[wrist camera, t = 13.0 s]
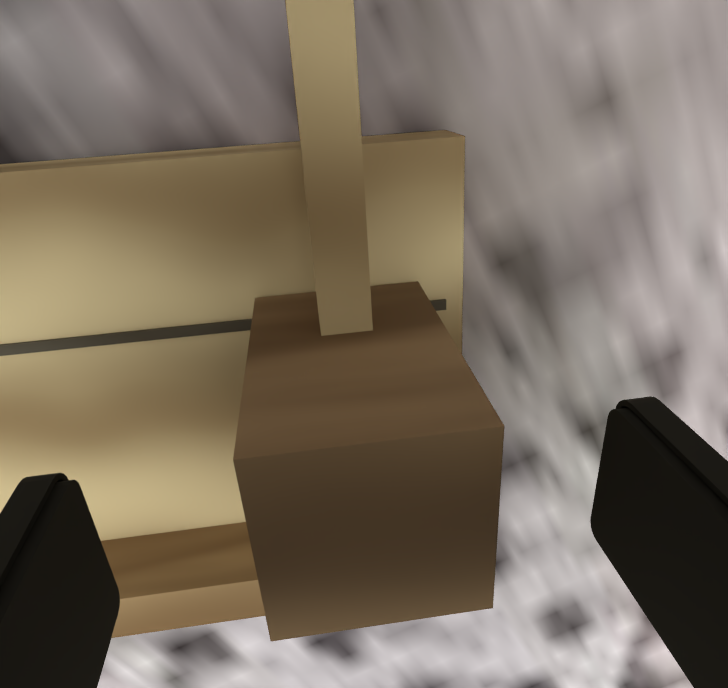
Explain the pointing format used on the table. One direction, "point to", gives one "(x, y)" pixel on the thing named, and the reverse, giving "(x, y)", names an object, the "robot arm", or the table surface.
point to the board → (181, 337)
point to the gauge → (358, 403)
